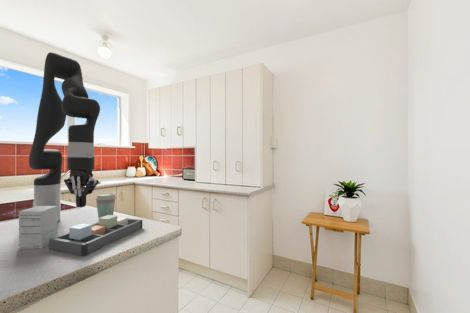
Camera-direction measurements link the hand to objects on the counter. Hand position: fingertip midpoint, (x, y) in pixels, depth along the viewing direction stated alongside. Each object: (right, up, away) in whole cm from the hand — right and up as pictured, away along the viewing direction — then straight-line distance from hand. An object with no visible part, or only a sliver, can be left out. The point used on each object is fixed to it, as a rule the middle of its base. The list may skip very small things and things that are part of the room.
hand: (81, 206), depth 72 cm
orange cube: (+1, -13, +5) cm, 14 cm away
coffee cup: (-10, -13, +30) cm, 35 cm away
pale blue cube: (0, -10, 0) cm, 10 cm away
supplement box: (-16, -14, +2) cm, 21 cm away
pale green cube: (+3, -10, +11) cm, 15 cm away
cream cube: (+4, -13, +16) cm, 21 cm away
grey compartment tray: (+2, -14, +8) cm, 16 cm away
